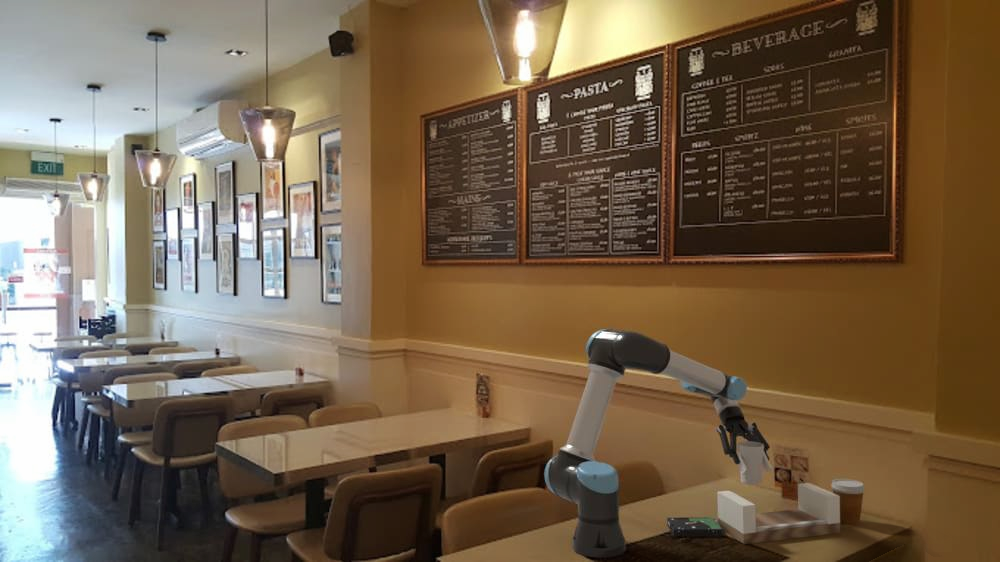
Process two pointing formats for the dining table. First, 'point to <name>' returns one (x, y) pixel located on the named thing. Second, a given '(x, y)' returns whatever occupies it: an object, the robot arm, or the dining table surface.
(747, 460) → the cup
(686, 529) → the disk drive
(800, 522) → the board
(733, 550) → the dining table surface
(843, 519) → the disposable coffee cup
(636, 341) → the robot arm
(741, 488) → the dining table surface
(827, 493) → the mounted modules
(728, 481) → the dining table surface
